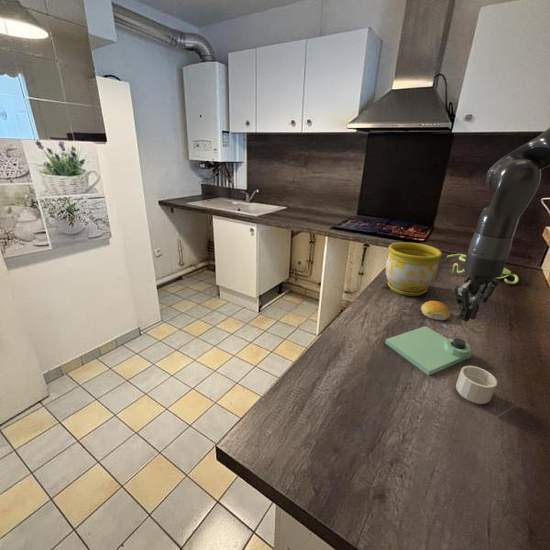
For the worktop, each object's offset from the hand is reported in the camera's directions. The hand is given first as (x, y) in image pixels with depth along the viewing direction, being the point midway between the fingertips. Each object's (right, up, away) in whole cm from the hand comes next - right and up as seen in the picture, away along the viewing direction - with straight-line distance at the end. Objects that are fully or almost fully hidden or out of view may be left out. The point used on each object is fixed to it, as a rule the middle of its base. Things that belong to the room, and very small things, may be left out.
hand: (466, 318), depth 73 cm
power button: (0, -8, +3) cm, 8 cm away
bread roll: (+5, -2, +24) cm, 24 cm away
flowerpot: (+3, +5, +41) cm, 42 cm away
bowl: (-4, -15, -8) cm, 18 cm away
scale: (-7, -9, +6) cm, 13 cm away
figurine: (+43, +12, +58) cm, 73 cm away
